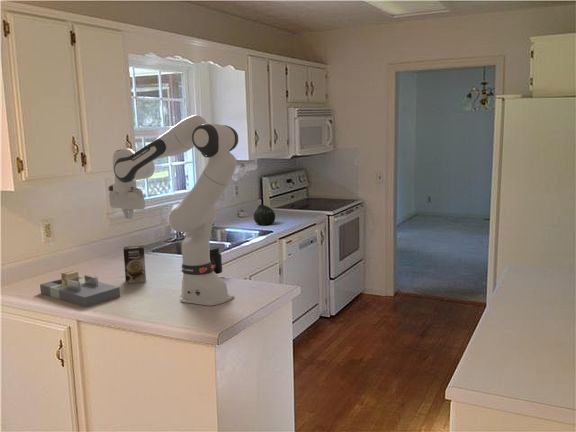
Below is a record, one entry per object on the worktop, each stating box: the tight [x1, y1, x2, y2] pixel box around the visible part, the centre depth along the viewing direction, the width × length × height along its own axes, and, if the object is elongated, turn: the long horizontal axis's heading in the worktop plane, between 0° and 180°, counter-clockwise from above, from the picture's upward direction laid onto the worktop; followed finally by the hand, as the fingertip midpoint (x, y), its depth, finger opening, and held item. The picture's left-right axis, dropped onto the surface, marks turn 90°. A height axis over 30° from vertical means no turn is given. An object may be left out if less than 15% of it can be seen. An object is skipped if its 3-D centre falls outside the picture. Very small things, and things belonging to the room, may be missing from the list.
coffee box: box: [123, 244, 147, 285], centre depth 245 cm, size 9×6×16 cm
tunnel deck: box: [39, 274, 121, 308], centre depth 228 cm, size 34×16×8 cm, turn 53°
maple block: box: [60, 269, 80, 285], centre depth 231 cm, size 5×5×5 cm
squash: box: [253, 204, 276, 226], centre depth 380 cm, size 14×15×15 cm
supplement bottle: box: [209, 246, 223, 275], centre depth 256 cm, size 7×7×12 cm
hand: (128, 218), depth 232 cm, fingers closed
